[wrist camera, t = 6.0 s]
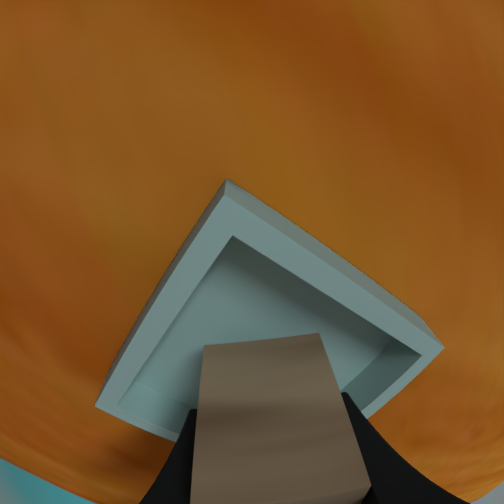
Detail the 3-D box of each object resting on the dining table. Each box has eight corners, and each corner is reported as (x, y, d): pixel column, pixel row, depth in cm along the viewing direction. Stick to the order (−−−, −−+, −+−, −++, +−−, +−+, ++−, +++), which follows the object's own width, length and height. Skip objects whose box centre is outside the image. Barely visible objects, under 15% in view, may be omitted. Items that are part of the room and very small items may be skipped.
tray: (281, 439, 16) (286, 474, 14) (109, 368, 14) (94, 406, 11) (419, 315, 13) (444, 347, 11) (226, 178, 10) (223, 194, 8)
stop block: (315, 403, 12) (346, 527, 7) (221, 414, 12) (221, 542, 7) (319, 332, 11) (371, 485, 5) (204, 344, 11) (190, 506, 5)
